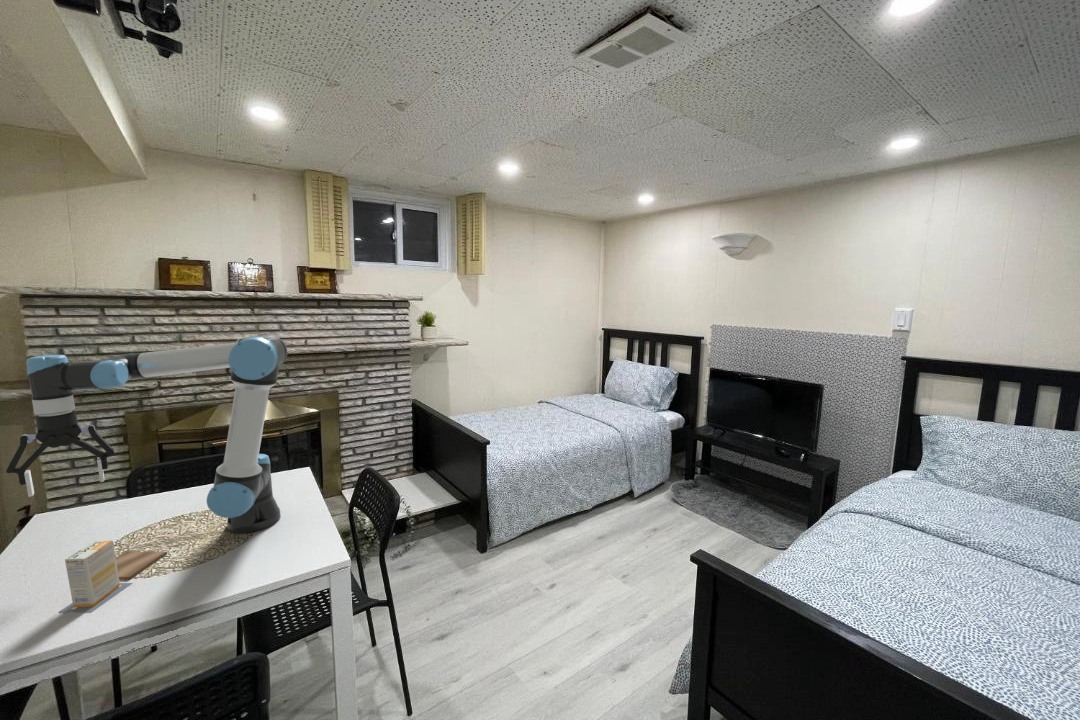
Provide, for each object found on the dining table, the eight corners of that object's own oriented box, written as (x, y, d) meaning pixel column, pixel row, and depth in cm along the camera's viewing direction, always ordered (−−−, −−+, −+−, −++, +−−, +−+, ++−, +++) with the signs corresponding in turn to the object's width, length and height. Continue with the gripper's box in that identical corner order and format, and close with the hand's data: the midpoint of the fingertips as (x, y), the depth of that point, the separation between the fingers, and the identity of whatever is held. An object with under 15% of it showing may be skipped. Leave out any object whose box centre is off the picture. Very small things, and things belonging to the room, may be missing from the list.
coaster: (166, 554, 133) (166, 551, 133) (130, 579, 121) (129, 576, 121) (126, 553, 133) (126, 551, 133) (85, 579, 121) (85, 576, 121)
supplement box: (101, 586, 118) (94, 540, 116) (120, 585, 118) (114, 539, 116) (71, 608, 110) (63, 558, 108) (92, 607, 110) (84, 557, 108)
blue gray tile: (132, 583, 119) (132, 582, 119) (91, 612, 108) (91, 611, 108) (102, 583, 119) (102, 582, 119) (58, 612, 108) (58, 611, 108)
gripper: (119, 402, 132) (129, 471, 135) (-14, 418, 115) (1, 496, 118) (118, 407, 126) (129, 478, 129) (-21, 424, 110) (-5, 506, 113)
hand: (68, 487), depth 124 cm, fingers open, 13 cm apart
